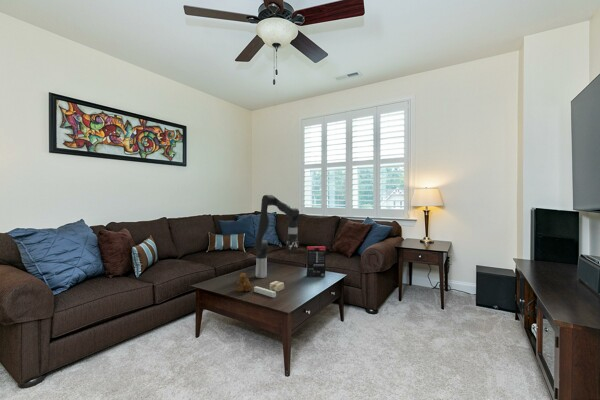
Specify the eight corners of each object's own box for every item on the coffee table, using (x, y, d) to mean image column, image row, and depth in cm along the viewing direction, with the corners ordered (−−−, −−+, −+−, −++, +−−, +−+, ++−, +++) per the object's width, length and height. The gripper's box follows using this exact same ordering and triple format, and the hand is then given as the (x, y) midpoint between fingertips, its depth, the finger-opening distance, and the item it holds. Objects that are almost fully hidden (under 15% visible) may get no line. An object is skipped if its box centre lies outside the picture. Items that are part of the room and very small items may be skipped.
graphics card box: (324, 274, 260) (324, 245, 259) (325, 276, 253) (326, 246, 252) (306, 275, 258) (306, 245, 257) (307, 277, 251) (307, 247, 251)
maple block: (269, 289, 220) (269, 283, 219) (276, 287, 226) (276, 280, 226) (277, 291, 215) (277, 285, 215) (283, 289, 221) (284, 282, 221)
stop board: (254, 291, 215) (254, 287, 215) (256, 290, 217) (256, 286, 217) (273, 297, 203) (273, 292, 203) (275, 296, 205) (275, 291, 205)
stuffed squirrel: (244, 286, 226) (244, 270, 226) (255, 290, 217) (255, 273, 217) (234, 289, 218) (234, 273, 218) (245, 294, 210) (245, 276, 209)
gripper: (294, 231, 232) (294, 250, 233) (283, 233, 221) (283, 253, 221) (301, 232, 228) (301, 252, 228) (291, 234, 216) (290, 255, 217)
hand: (292, 252), depth 225 cm, fingers open, 8 cm apart
